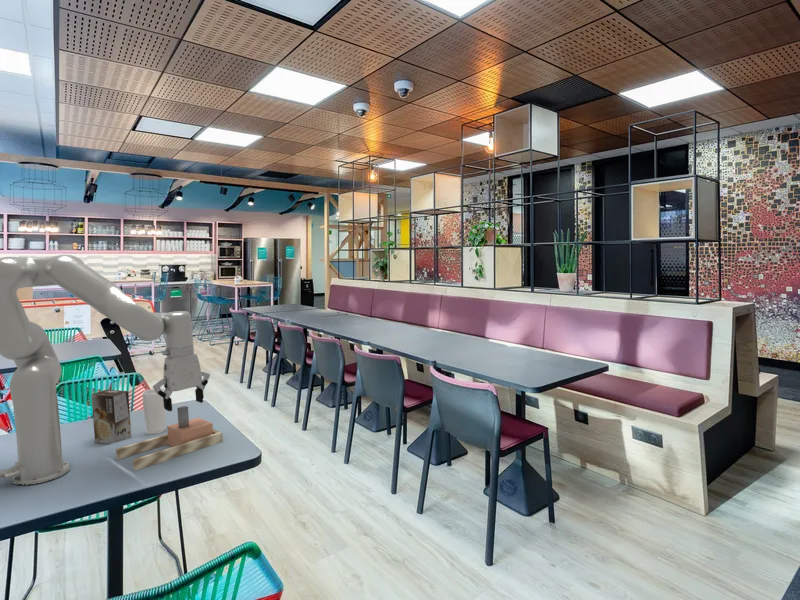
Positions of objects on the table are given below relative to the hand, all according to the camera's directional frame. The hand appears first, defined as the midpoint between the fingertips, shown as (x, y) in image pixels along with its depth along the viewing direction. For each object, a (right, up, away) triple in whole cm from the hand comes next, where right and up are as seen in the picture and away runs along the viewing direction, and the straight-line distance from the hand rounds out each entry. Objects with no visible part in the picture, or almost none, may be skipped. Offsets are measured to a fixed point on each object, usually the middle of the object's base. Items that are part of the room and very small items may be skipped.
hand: (184, 406), depth 144 cm
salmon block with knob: (+1, -12, +2) cm, 13 cm away
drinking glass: (-16, -13, +14) cm, 25 cm away
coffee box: (-27, -14, +9) cm, 32 cm away
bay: (-3, -14, -2) cm, 14 cm away
